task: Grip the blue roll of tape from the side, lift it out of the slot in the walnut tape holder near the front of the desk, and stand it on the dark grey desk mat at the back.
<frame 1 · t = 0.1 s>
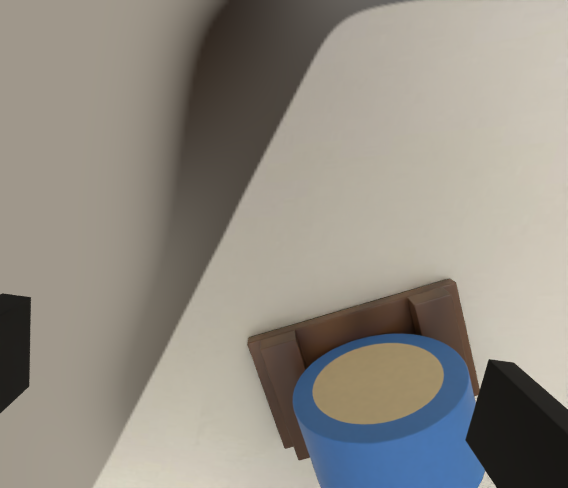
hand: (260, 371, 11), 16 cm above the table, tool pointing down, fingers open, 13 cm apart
tape roll: (366, 369, 28), point 1 cm above the table, touching tape holder
tape holder: (363, 362, 29), on the table
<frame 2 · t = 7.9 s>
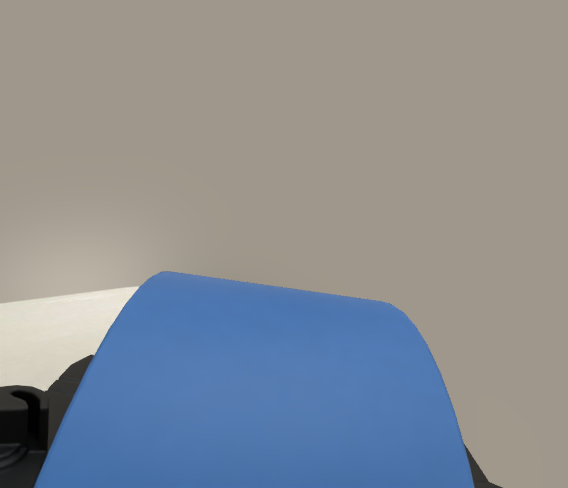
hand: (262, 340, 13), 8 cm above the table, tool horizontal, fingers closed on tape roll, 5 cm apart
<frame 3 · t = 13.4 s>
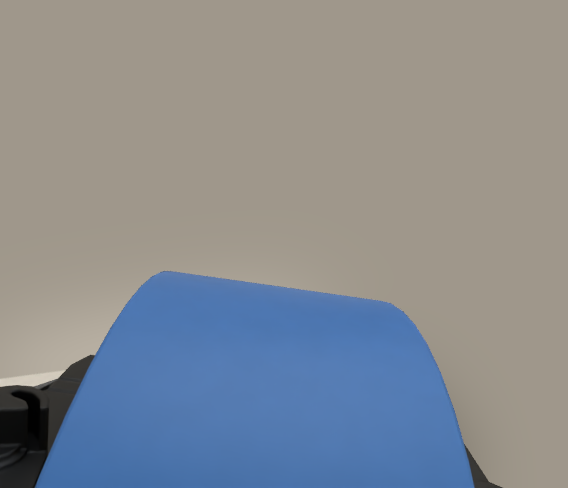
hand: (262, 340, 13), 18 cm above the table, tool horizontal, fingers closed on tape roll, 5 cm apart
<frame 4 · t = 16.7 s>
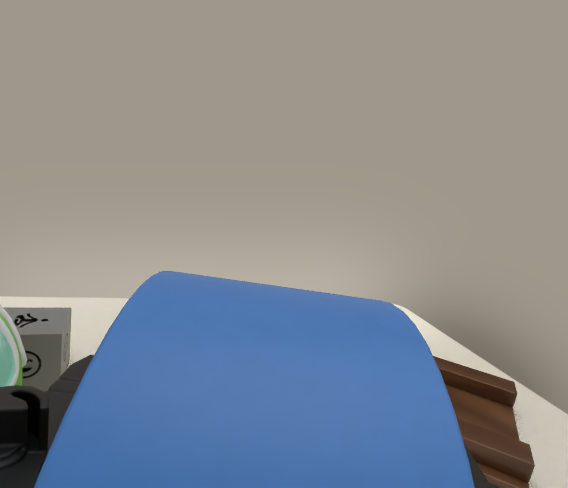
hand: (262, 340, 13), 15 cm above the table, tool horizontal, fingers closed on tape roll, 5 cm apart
tape holder: (459, 420, 36), on the table
dice cube: (30, 378, 33), on the table
when the fingers open (7 cm above the table, at t = 19.0 s): tape roll stays where it is, resting on desk mat.
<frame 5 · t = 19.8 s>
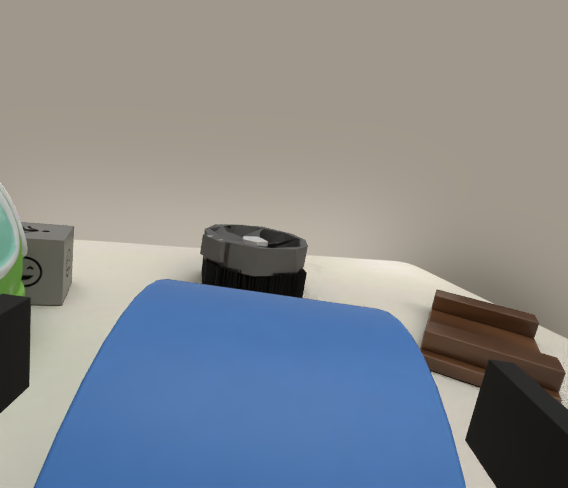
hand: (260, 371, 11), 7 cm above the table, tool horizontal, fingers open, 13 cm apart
tape holder: (479, 348, 34), on the table
cpu cooler: (248, 290, 40), on the table
dice cube: (31, 294, 31), on the table
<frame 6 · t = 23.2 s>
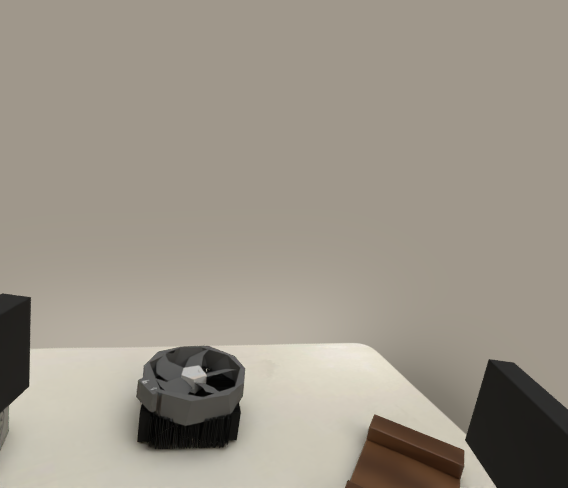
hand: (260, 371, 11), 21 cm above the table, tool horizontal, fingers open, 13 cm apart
cpu cooler: (188, 419, 41), on the table
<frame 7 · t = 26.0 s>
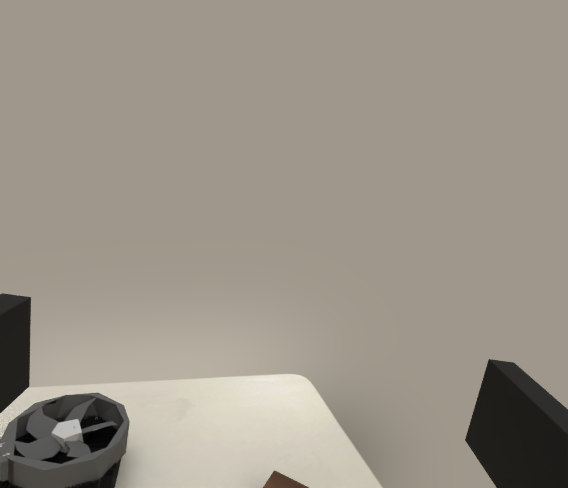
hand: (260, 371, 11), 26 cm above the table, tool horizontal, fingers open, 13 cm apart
cpu cooler: (65, 478, 37), on the table
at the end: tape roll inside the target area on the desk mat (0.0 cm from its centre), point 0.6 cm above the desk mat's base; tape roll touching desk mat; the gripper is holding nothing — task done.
